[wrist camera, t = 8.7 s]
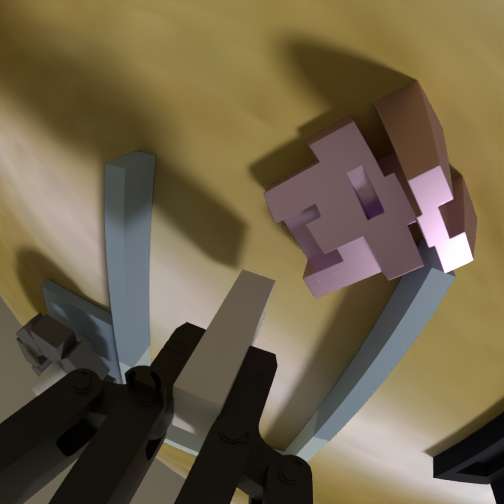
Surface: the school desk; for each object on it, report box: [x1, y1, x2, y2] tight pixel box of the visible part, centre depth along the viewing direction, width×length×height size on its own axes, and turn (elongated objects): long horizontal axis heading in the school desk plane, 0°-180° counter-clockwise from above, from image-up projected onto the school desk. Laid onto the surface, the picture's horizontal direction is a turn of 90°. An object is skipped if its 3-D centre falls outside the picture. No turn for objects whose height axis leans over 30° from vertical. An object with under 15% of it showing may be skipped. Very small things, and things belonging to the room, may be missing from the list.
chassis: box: [31, 151, 456, 462], centre depth 18 cm, size 24×25×8 cm
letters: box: [264, 80, 477, 298], centre depth 10 cm, size 8×7×6 cm
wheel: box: [16, 312, 117, 383], centre depth 21 cm, size 10×10×2 cm
